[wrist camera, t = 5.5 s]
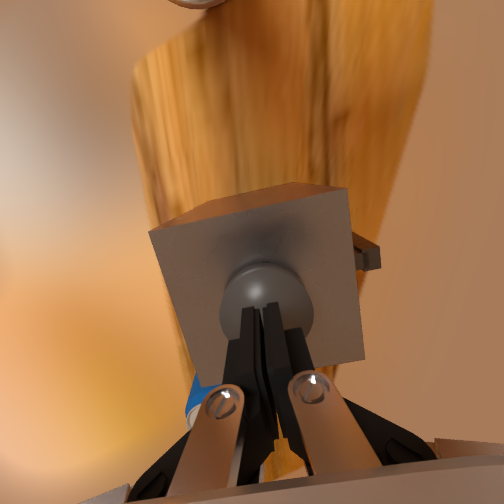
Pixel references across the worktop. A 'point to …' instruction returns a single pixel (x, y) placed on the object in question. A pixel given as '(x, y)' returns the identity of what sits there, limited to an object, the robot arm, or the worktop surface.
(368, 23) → the worktop surface
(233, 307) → the plunger
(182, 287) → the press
